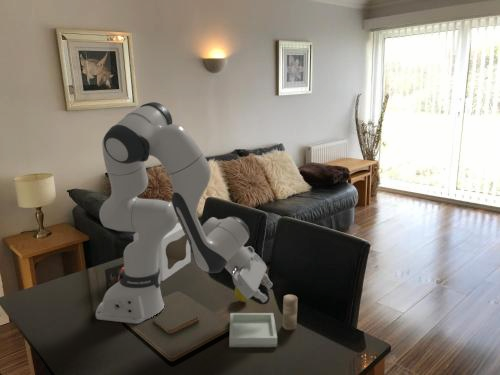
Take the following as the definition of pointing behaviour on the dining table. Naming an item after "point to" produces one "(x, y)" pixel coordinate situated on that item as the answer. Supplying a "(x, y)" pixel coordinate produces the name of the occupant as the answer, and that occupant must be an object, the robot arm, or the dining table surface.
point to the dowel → (290, 312)
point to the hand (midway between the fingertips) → (268, 293)
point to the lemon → (239, 295)
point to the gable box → (172, 251)
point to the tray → (252, 330)
